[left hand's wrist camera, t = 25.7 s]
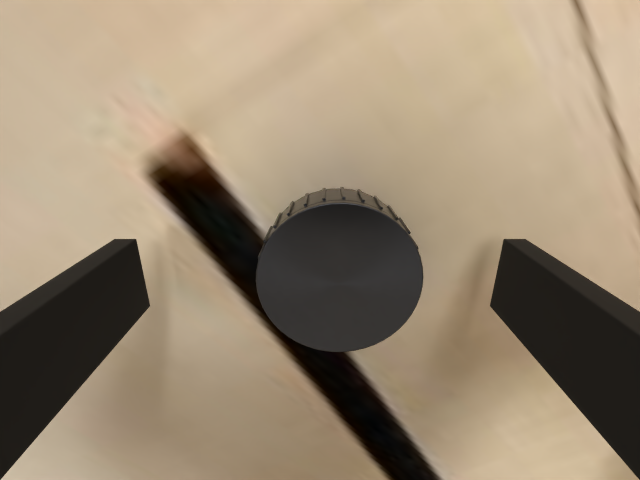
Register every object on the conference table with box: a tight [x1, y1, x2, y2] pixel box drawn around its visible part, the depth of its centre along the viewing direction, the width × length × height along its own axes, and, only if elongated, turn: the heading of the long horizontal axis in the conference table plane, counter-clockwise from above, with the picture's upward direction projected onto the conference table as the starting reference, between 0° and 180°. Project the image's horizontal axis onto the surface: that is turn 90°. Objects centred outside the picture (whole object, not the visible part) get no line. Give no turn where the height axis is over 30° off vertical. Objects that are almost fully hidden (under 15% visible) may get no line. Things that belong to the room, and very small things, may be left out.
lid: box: [256, 187, 423, 352], centre depth 13 cm, size 6×6×2 cm
